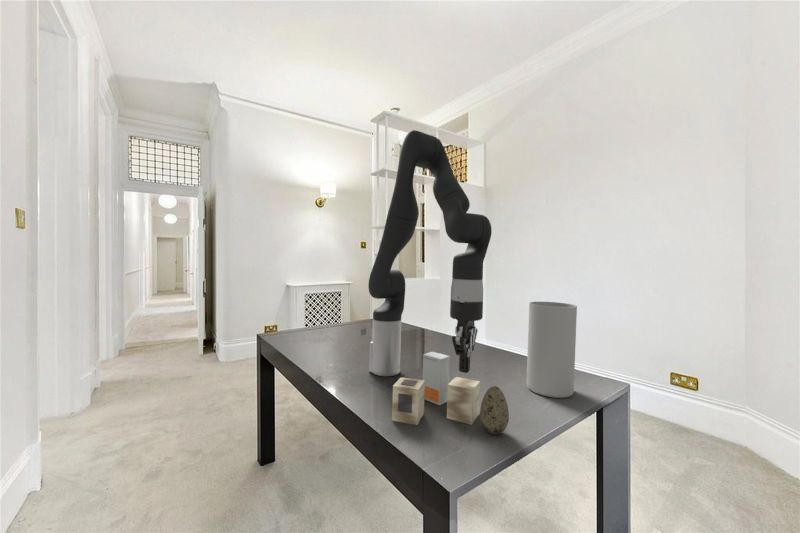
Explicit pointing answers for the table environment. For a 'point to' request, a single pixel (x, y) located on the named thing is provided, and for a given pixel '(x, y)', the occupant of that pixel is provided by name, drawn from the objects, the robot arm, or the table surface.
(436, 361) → the skincare box
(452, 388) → the birch block
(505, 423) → the decorative egg
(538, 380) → the cylinder vase
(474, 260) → the robot arm
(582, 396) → the table surface
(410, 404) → the marked block
